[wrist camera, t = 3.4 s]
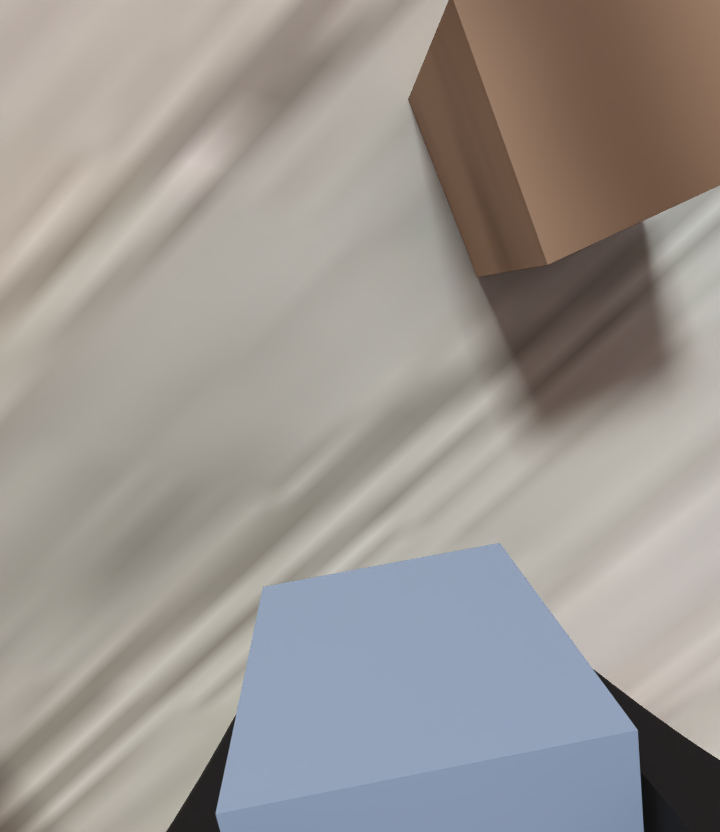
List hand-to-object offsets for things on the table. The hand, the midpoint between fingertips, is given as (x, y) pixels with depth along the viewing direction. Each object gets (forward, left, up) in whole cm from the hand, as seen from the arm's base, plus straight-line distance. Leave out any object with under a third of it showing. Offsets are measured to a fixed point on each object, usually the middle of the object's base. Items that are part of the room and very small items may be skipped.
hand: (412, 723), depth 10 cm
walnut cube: (-6, -11, -7) cm, 14 cm away
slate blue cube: (0, 0, -2) cm, 2 cm away
